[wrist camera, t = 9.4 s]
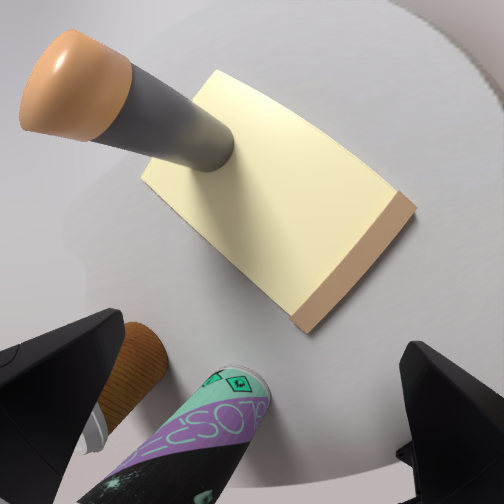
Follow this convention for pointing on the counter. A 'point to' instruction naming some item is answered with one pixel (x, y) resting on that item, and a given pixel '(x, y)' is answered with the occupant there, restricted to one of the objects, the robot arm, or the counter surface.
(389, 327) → the counter surface
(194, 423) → the spray can
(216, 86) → the legal pad
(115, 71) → the ball
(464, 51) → the counter surface
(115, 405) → the disposable coffee cup
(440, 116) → the counter surface
